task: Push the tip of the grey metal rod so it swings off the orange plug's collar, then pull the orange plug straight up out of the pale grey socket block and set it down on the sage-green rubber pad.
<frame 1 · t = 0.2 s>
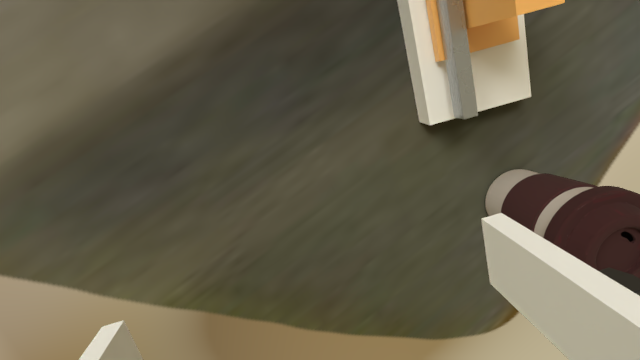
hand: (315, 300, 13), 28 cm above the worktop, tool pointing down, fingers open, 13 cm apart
plug: (452, 13, 38), resting in socket block
grey metal rod: (449, 0, 32), point 6 cm above the worktop, hinge at 0.0°
coffee cup: (511, 196, 44), on the worktop
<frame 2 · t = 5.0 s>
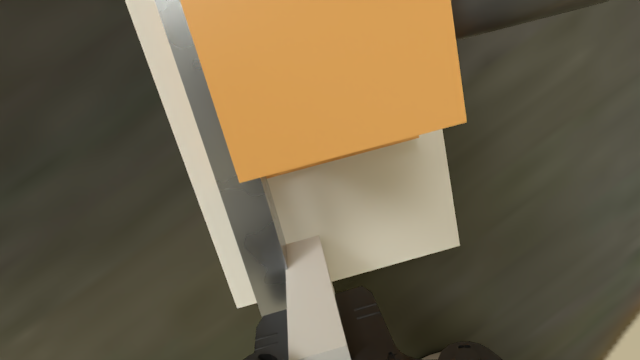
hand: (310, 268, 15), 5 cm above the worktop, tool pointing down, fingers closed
plug: (292, 65, 18), resting in socket block
grey metal rod: (203, 52, 12), point 6 cm above the worktop, hinge at -0.3°, touching gripper
socket block: (281, 20, 17), on the worktop
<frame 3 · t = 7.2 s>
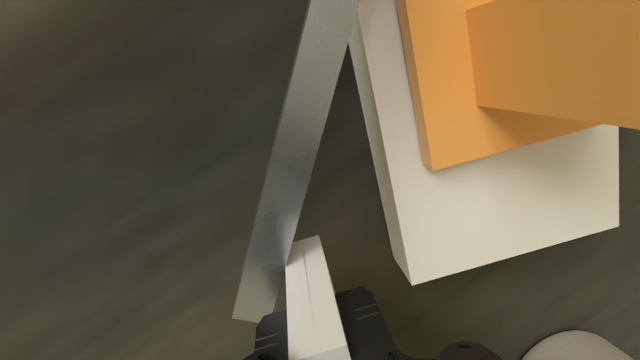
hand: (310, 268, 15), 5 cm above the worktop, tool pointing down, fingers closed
plug: (462, 54, 18), resting in socket block
grey metal rod: (323, 35, 12), point 6 cm above the worktop, hinge at -29.7°, touching gripper
socket block: (456, 11, 18), on the worktop
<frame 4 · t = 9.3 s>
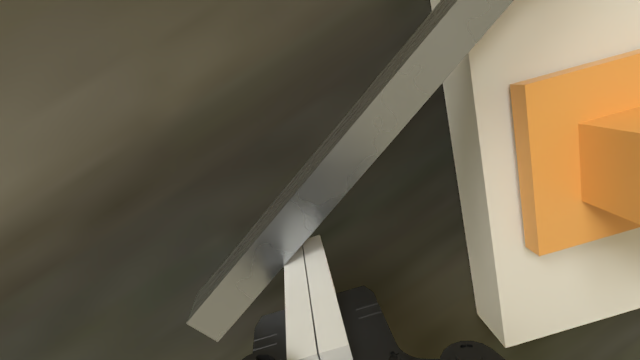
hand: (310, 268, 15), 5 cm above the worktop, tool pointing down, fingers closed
plug: (549, 137, 20), resting in socket block
grey metal rod: (380, 111, 13), point 6 cm above the worktop, hinge at -54.4°, touching gripper
socket block: (547, 101, 20), on the worktop
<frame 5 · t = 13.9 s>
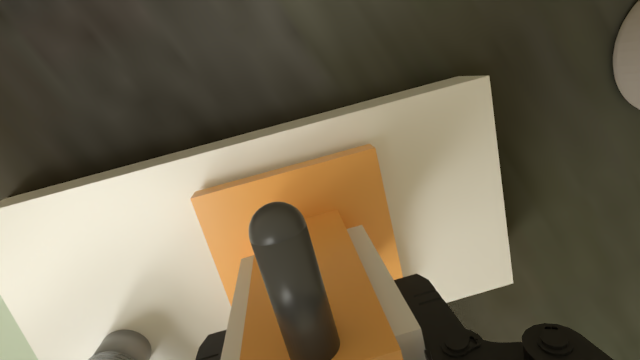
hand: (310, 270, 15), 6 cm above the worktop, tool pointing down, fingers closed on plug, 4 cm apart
plug: (302, 220, 21), resting in socket block, touching gripper
socket block: (267, 230, 21), on the worktop
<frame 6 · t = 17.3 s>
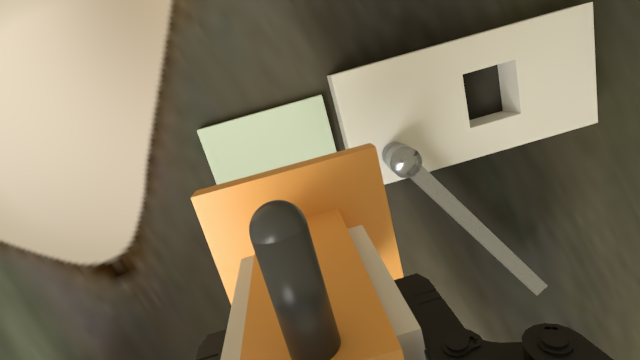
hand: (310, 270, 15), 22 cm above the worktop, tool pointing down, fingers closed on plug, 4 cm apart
plug: (302, 220, 21), point 17 cm above the worktop, touching gripper
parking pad: (275, 160, 36), on the worktop
grey metal rod: (469, 223, 34), point 6 cm above the worktop, hinge at -57.4°
socket block: (456, 98, 37), on the worktop
when the fingers open (8 cm above the worktop, at t = 20.6 s): plug stays where it is, resting on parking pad.
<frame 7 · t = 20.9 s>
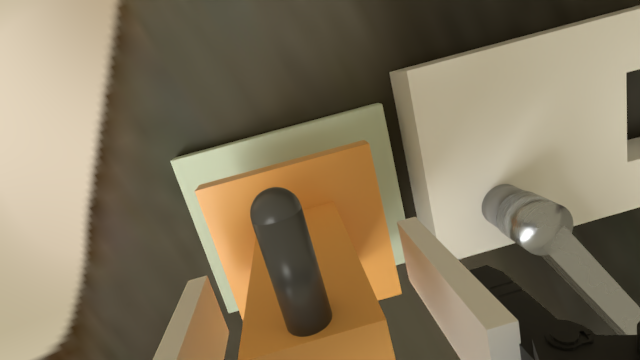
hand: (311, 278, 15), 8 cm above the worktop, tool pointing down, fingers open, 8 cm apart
plug: (300, 214, 22), point 1 cm above the worktop, touching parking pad
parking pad: (300, 208, 23), on the worktop
grey metal rod: (627, 321, 20), point 6 cm above the worktop, hinge at -57.4°
socket block: (590, 111, 23), on the worktop
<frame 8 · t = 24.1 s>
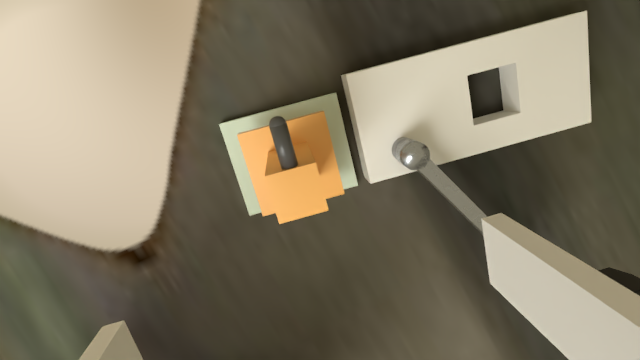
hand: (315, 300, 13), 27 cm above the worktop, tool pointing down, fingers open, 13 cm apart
plug: (291, 156, 38), point 1 cm above the worktop, touching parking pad
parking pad: (291, 154, 39), on the worktop
grey metal rod: (472, 214, 37), point 6 cm above the worktop, hinge at -57.4°
socket block: (460, 98, 39), on the worktop
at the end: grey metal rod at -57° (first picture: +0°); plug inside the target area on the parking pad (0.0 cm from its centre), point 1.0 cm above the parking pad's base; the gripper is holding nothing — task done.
